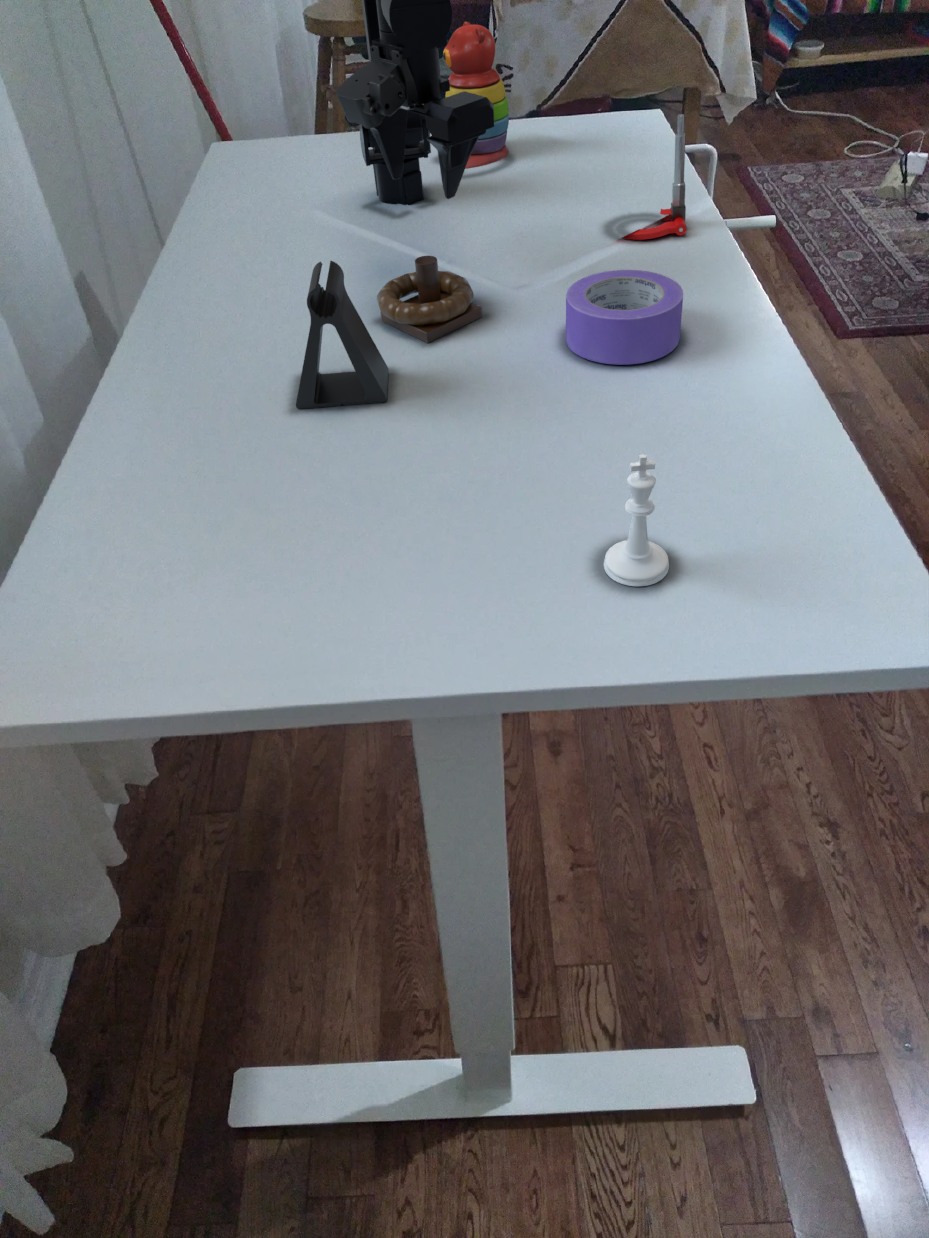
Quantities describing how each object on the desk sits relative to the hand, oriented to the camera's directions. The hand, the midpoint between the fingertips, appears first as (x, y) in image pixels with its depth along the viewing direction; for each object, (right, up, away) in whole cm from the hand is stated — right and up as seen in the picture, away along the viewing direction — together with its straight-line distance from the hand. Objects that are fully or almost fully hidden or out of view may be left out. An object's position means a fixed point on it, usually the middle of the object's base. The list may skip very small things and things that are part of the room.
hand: (423, 188), depth 107 cm
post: (+1, -14, +1) cm, 14 cm away
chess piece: (+18, -44, -32) cm, 57 cm away
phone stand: (-8, -25, -9) cm, 28 cm away
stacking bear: (+6, +20, +38) cm, 43 cm away
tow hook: (+27, +1, +15) cm, 31 cm away
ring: (0, -12, 0) cm, 12 cm away
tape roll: (+21, -18, -6) cm, 29 cm away
